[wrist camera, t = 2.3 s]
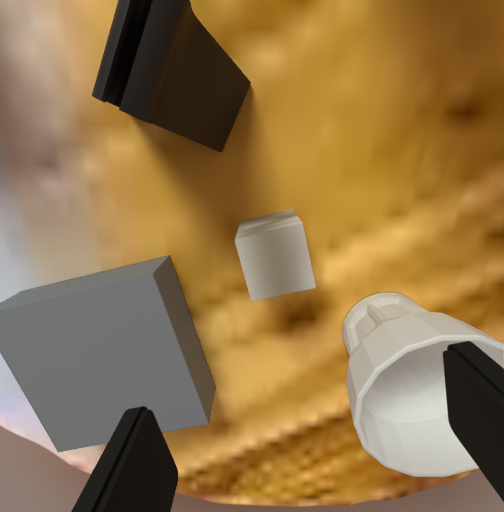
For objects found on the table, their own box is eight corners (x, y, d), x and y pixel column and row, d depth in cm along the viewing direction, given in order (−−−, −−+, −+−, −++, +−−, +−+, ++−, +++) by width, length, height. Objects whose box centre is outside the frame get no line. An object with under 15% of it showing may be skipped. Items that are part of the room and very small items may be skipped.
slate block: (169, 255, 30) (152, 273, 25) (215, 387, 34) (208, 423, 30) (21, 291, 31) (-22, 315, 26) (84, 413, 36) (58, 452, 31)
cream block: (292, 209, 28) (302, 224, 22) (302, 258, 30) (315, 287, 23) (240, 221, 29) (234, 240, 22) (253, 270, 30) (251, 302, 23)
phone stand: (251, 83, 25) (245, 20, 14) (221, 153, 27) (194, 148, 15) (148, 28, 24) (49, -90, 13) (124, 104, 26) (18, 59, 14)
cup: (388, 396, 34) (446, 502, 24) (298, 342, 32) (318, 431, 22) (470, 314, 31) (579, 394, 21) (375, 249, 29) (442, 300, 19)
